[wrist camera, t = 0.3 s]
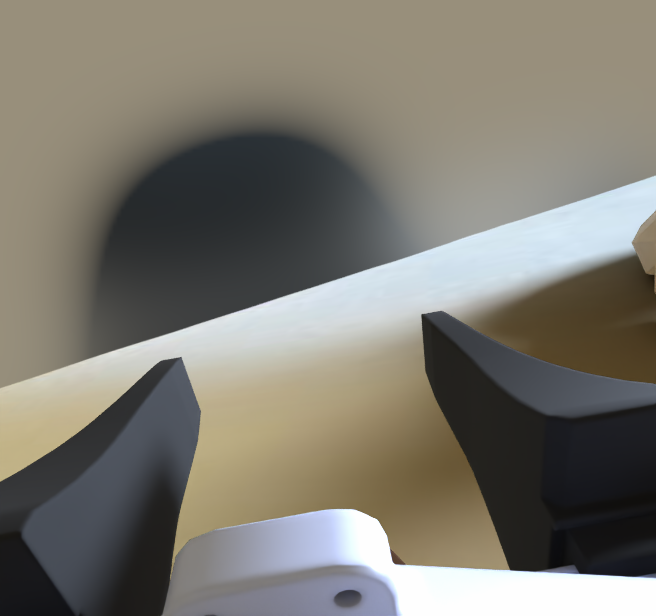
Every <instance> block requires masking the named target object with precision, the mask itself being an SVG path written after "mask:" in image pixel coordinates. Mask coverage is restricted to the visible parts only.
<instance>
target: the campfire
mask: <svg viewBox="0 0 656 616" xmlns="http://www.w3.org/2000/svg"><path fill="white" fill-rule="evenodd" d="M632 244H633V246H634V248H635V251H636V253H637V255H638V257H639V259H640V261H641V264H642V266H643V268H644V270H645V272H646V274H651V275H655V293H656V211H655V212H654V213H653V214H652V215H651V216H650V217H649V218H648V219H647V220H646V221H645V222H644V223H643V224H642V225H641V227H640V228H639V230H638V232H637V234H636V236H635V238H634V240H633V241H632Z"/></svg>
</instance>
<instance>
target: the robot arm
mask: <svg viewBox="0 0 656 616" xmlns="http://www.w3.org/2000/svg"><path fill="white" fill-rule="evenodd" d="M421 316H422V330H423V343H424V357H425V370H426V374H427V377H428V380H429V382H430V385H431V388H432V391H433V393H434V396H435V399H436V401H437V403H438V405H439V406H440V408H441V410H442V412H443V414H444V416H445V418H446V420H447V422H448V424H449V425H450V427H451V429H452V431H453V433H454V435H455V437H456V439H457V440H458V442H459V444H460V446H461V448H462V450H463V452H464V454H465V455H466V457H467V460H468V462H469V464H470V466H471V468H472V470H473V473H474V475H475V478H476V480H477V483H478V485H479V488H480V490H481V493H482V495H483V498H484V500H485V503H486V506H487V508H488V511H489V514H490V516H491V519H492V522H493V524H494V527H495V530H496V532H497V535H498V538H499V541H500V543H501V546H502V549H503V552H504V554H505V557H506V560H507V563H508V566H509V568H510V570H491V569H472V568H452V567H433V566H414V565H395V564H394V563H393V562H392V558H391V553H390V549H389V544H388V539H387V535H386V534H385V532H384V530H383V529H382V527H381V525H380V524H379V522H378V520H377V519H374V518H372V517H370V516H368V515H366V514H363V513H361V512H359V511H357V510H354V509H327V510H322V511H316V512H311V513H305V514H299V515H294V516H288V517H283V518H277V519H271V520H266V521H260V522H255V523H249V524H243V525H238V526H232V527H227V528H221V529H216V530H213V531H210V532H208V533H205V534H203V535H200V536H198V537H195V538H193V539H190V540H189V541H188V542H187V543H186V545H185V546H184V547H183V548H182V549H181V550H180V552H179V553H178V554H177V555H176V558H175V563H174V567H173V571H172V576H171V580H170V574H171V566H172V557H173V550H174V543H175V536H176V529H177V522H178V518H179V513H180V508H181V504H182V500H183V497H184V493H185V489H186V485H187V481H188V477H189V474H190V470H191V466H192V462H193V458H194V454H195V450H196V446H197V442H198V434H199V425H200V414H201V411H200V408H199V405H198V403H197V400H196V397H195V394H194V391H193V389H192V386H191V383H190V380H189V377H188V375H187V372H186V369H185V366H184V364H183V361H182V358H181V357H180V358H174V359H168V360H163V361H160V362H159V363H157V364H156V365H155V366H154V367H153V368H151V369H150V370H149V371H148V372H147V373H146V374H145V375H144V376H143V377H142V378H141V379H140V380H138V381H137V382H136V383H135V384H134V385H133V386H132V387H131V388H130V389H129V390H128V391H127V392H126V393H124V394H123V395H122V396H121V397H120V398H119V399H118V400H117V401H116V402H115V403H113V404H112V405H111V406H110V407H109V408H108V409H106V410H105V411H104V412H103V413H102V414H101V415H99V416H98V417H97V418H96V419H95V420H94V421H92V422H91V423H90V424H89V425H87V426H86V427H85V428H84V429H82V430H81V431H80V432H78V433H77V434H76V435H74V436H73V437H71V438H70V439H69V440H67V441H66V442H64V443H63V444H62V445H60V446H59V447H57V448H56V449H54V450H53V451H51V452H50V453H48V454H46V455H45V456H43V457H42V458H40V459H38V460H37V461H35V462H34V463H32V464H30V465H29V466H27V467H26V468H24V469H22V470H21V471H19V472H17V473H15V474H14V475H12V476H10V477H8V478H6V479H5V480H3V481H1V482H0V616H656V384H651V383H642V382H634V381H626V380H620V379H614V378H609V377H604V376H598V375H594V374H589V373H585V372H580V371H577V370H573V369H569V368H566V367H562V366H558V365H555V364H552V363H549V362H546V361H543V360H540V359H537V358H535V357H532V356H529V355H526V354H524V353H521V352H519V351H516V350H514V349H512V348H510V347H508V346H506V345H503V344H501V343H499V342H497V341H495V340H493V339H491V338H489V337H487V336H485V335H484V334H482V333H480V332H478V331H476V330H474V329H473V328H471V327H469V326H468V325H466V324H464V323H462V322H461V321H459V320H457V319H456V318H454V317H452V316H450V315H449V314H447V313H445V312H443V311H438V312H432V313H427V314H421ZM169 583H170V585H169Z"/></svg>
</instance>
